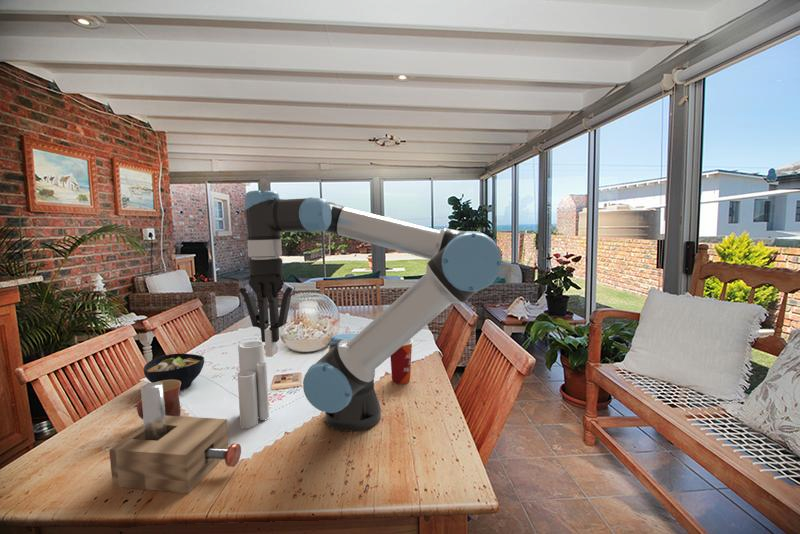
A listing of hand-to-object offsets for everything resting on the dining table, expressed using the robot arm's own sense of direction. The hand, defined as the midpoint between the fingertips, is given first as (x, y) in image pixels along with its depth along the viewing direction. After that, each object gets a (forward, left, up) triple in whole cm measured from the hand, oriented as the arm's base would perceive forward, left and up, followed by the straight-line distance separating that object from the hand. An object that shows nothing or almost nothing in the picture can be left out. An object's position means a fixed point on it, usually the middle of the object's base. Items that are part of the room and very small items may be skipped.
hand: (271, 354), depth 92 cm
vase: (+10, -10, -22) cm, 26 cm away
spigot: (+21, +13, -17) cm, 30 cm away
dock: (+17, +13, -22) cm, 31 cm away
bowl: (+46, -26, -22) cm, 57 cm away
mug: (+33, -3, -22) cm, 40 cm away
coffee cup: (-27, -39, -22) cm, 52 cm away
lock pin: (+9, +13, -20) cm, 25 cm away
